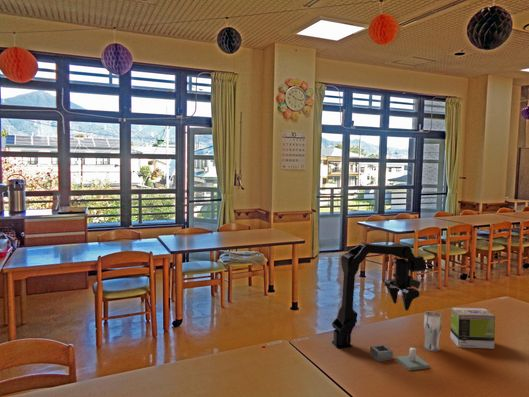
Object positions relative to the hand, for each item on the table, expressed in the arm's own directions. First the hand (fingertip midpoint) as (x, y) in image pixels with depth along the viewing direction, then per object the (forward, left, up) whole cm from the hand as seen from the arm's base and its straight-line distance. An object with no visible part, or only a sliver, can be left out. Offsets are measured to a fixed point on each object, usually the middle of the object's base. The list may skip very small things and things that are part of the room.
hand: (400, 306), depth 184 cm
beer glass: (+8, -12, -15) cm, 21 cm away
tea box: (+28, -12, -15) cm, 34 cm away
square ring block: (-17, -14, -15) cm, 26 cm away
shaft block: (-8, -22, -15) cm, 28 cm away
